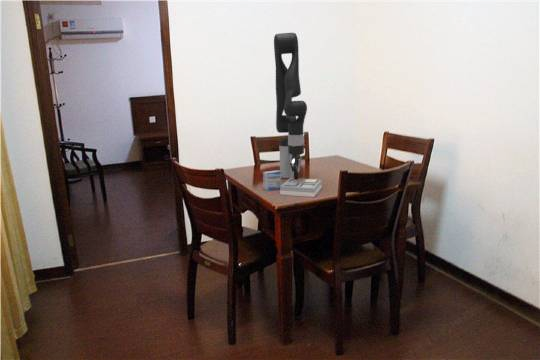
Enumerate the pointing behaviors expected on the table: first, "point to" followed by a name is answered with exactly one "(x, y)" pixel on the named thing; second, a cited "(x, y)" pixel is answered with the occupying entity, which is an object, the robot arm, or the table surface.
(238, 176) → the table surface
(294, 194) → the keypad
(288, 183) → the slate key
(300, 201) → the table surface
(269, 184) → the medicine box
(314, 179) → the cream key
